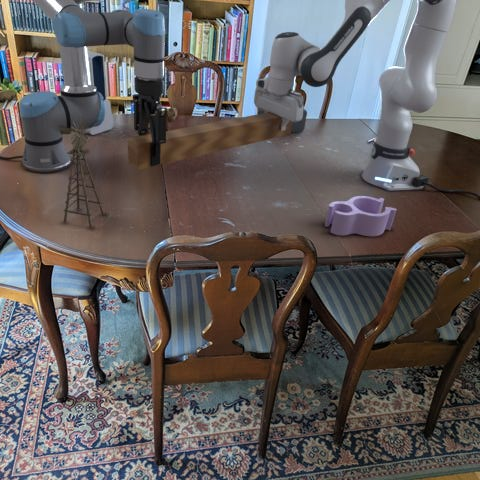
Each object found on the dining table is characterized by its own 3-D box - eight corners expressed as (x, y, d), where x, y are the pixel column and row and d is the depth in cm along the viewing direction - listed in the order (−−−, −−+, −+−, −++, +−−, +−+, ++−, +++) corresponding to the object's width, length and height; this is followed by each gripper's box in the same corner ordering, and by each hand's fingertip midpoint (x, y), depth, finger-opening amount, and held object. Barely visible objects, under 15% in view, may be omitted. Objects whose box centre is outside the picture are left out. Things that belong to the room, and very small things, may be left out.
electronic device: (90, 136, 184) (84, 56, 167) (77, 131, 187) (69, 52, 170) (113, 128, 193) (109, 52, 177) (100, 123, 196) (95, 48, 180)
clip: (337, 240, 135) (342, 219, 131) (318, 218, 145) (322, 198, 141) (395, 233, 141) (402, 213, 137) (373, 213, 151) (378, 194, 147)
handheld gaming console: (301, 129, 213) (305, 108, 208) (304, 131, 211) (308, 110, 205) (254, 131, 206) (257, 108, 200) (257, 133, 204) (259, 110, 198)
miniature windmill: (90, 229, 128) (80, 122, 112) (62, 223, 129) (47, 117, 113) (105, 213, 136) (97, 111, 119) (78, 208, 137) (67, 106, 120)
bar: (137, 170, 128) (137, 144, 124) (128, 163, 131) (127, 138, 127) (290, 134, 163) (293, 114, 159) (280, 130, 166) (283, 109, 162)
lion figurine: (175, 126, 202) (175, 105, 197) (178, 130, 198) (178, 109, 193) (141, 127, 197) (140, 106, 192) (143, 131, 193) (143, 110, 188)
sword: (405, 131, 224) (406, 128, 224) (410, 133, 222) (411, 130, 222) (362, 142, 208) (362, 140, 208) (367, 144, 206) (368, 142, 206)
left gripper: (181, 85, 116) (179, 170, 129) (143, 66, 127) (144, 147, 140) (155, 88, 112) (155, 176, 125) (118, 69, 123) (122, 151, 135)
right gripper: (310, 93, 148) (303, 135, 155) (266, 77, 160) (262, 116, 168) (297, 95, 144) (290, 138, 152) (253, 79, 157) (249, 119, 164)
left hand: (149, 160), depth 132 cm, fingers closed on bar, 5 cm apart
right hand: (275, 126), depth 160 cm, fingers closed on bar, 5 cm apart
